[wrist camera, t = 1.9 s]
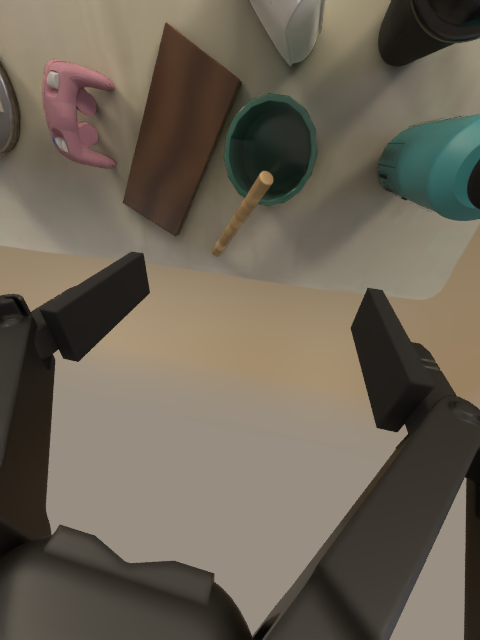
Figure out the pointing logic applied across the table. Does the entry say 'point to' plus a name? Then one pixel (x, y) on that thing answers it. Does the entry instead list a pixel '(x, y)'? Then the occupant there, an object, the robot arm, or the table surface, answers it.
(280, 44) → the photo printer
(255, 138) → the coffee cup
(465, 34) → the drinking cup
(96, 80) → the video game controller
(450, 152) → the beverage bottle
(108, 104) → the table surface
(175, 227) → the board
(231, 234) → the stirrer
